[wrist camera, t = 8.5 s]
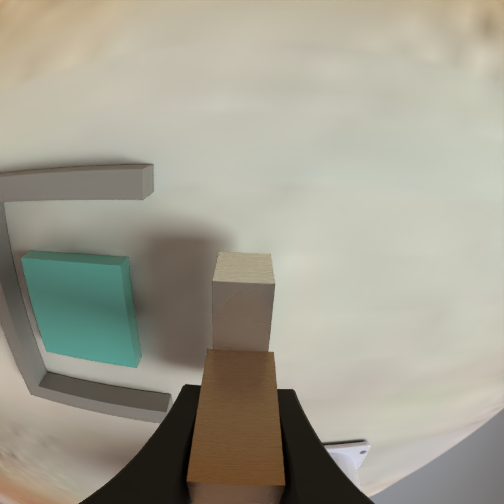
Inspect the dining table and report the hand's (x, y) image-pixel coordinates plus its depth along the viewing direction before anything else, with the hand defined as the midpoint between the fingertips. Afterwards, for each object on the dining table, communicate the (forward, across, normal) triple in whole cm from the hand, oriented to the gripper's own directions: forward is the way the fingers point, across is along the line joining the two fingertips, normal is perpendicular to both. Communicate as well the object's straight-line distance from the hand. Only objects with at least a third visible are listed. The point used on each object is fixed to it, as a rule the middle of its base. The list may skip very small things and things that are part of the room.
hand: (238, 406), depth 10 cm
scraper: (+4, 0, 0) cm, 4 cm away
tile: (+6, +8, 0) cm, 11 cm away
